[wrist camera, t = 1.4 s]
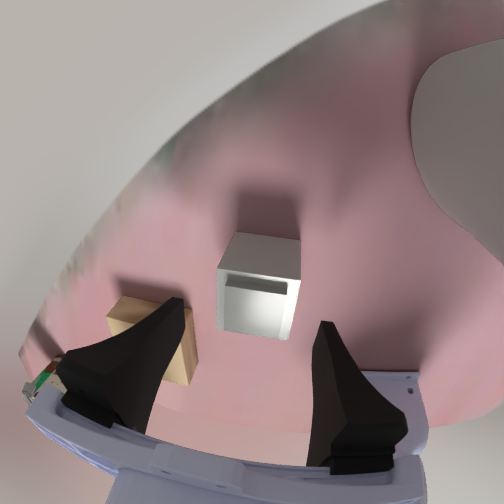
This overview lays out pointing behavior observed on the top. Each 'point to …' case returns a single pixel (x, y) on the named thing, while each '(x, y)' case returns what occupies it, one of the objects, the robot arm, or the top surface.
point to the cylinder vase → (464, 139)
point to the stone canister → (258, 285)
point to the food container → (43, 381)
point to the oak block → (186, 354)
